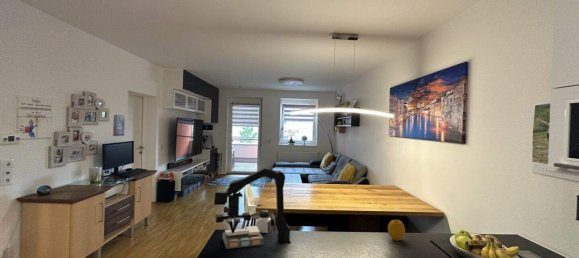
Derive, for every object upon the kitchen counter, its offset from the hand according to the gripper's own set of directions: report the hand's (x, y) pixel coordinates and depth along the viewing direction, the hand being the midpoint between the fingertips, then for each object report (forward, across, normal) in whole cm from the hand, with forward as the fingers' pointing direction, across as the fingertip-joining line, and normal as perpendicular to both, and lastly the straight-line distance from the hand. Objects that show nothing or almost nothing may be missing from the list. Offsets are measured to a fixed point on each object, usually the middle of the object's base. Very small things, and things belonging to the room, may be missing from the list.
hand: (232, 233), depth 166 cm
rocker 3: (+2, -12, -3) cm, 13 cm away
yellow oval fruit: (+5, -93, +19) cm, 95 cm away
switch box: (+6, -6, -2) cm, 9 cm away
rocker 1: (+2, 0, -3) cm, 4 cm away
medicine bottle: (+6, -22, -16) cm, 28 cm away
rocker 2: (+2, -6, -3) cm, 7 cm away
